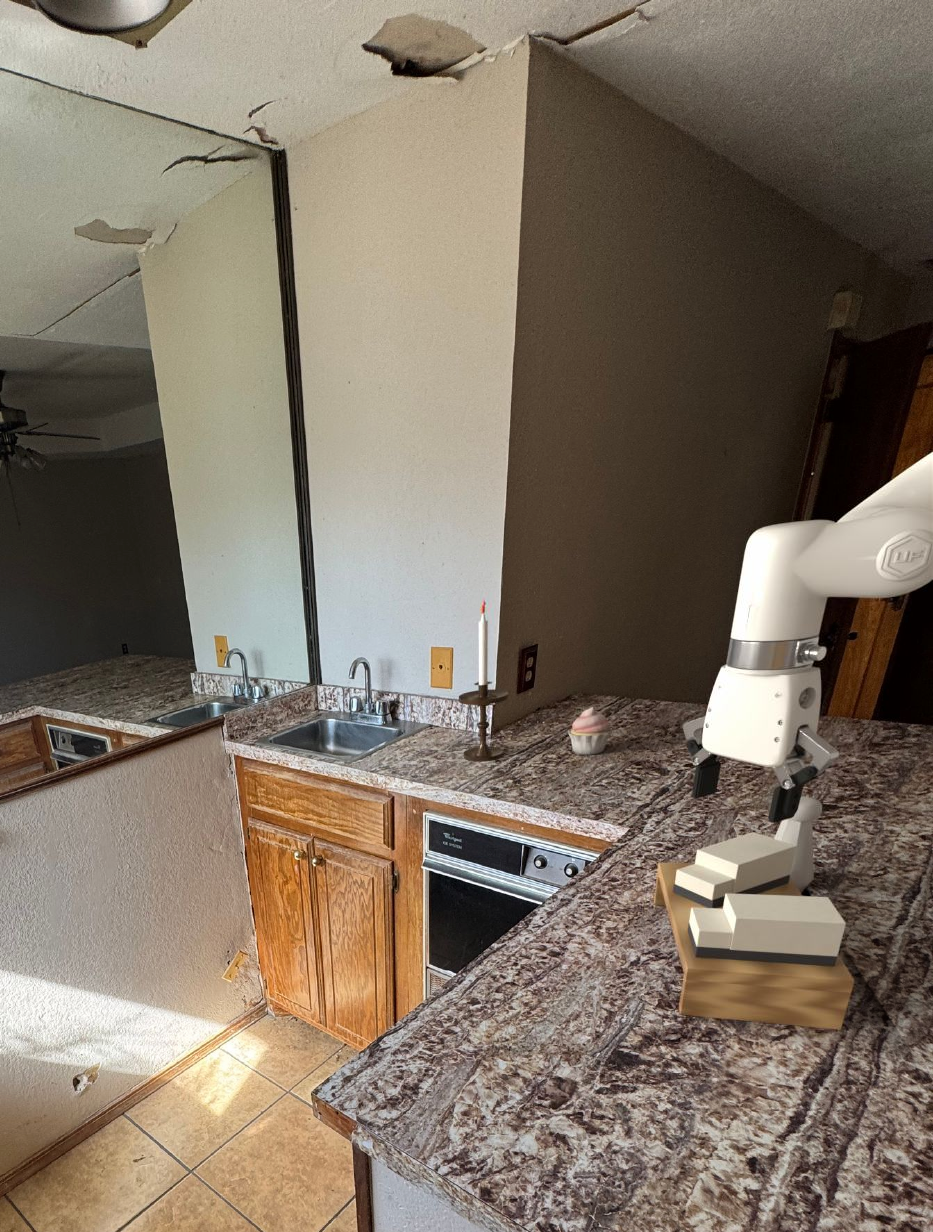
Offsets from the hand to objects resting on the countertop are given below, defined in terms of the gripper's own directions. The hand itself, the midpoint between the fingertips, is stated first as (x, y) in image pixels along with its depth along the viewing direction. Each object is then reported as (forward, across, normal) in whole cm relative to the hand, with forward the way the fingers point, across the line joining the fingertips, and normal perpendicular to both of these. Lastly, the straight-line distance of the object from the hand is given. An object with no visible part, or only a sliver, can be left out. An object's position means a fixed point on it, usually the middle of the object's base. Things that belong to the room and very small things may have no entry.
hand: (740, 806), depth 80 cm
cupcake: (+17, +68, -42) cm, 82 cm away
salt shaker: (+17, +3, -15) cm, 23 cm away
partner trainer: (+11, -11, +8) cm, 17 cm away
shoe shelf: (+17, -5, +3) cm, 18 cm away
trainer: (+11, 0, 0) cm, 11 cm away
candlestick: (+17, +82, -23) cm, 87 cm away
